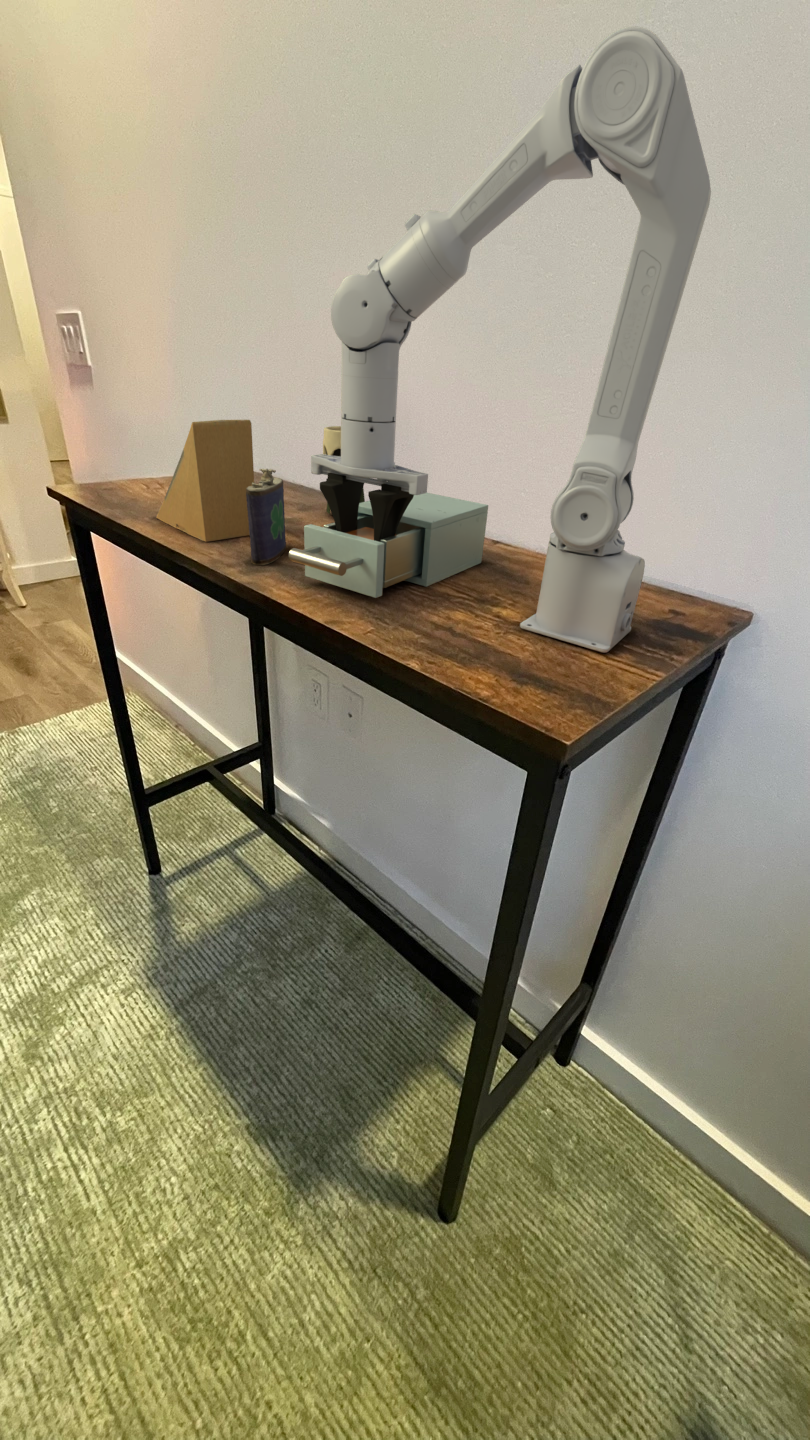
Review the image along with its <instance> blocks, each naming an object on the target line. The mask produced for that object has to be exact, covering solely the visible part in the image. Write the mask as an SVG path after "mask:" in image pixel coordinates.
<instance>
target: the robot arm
mask: <svg viewBox="0 0 810 1440" xmlns="http://www.w3.org/2000/svg"><path fill="white" fill-rule="evenodd" d="M700 139H701V138H700V135H699V131H698V128H697V123H696V119H695V115H694V111H693V107H692V103H691V99H690V94H689V90H688V86H687V83H686V78H685V74H684V71H683V69H682V67H681V66H680V65H679V63H678V62H677V60H676V59H675V58H674V56H673V55H672V54H671V52H670V51H669V49H668V48H667V47H666V45H665V44H664V42H663V41H662V40H661V38H659V36H658V35H657V34H655V33H654V31H652V30H650V29H648V28H646V27H642V26H636V25H635V26H626V27H623V28H620V29H617V30H616V31H614V32H612V33H610V34H608V36H606V37H605V38H603V40H602V41H601V42H599V43H598V45H596V47H595V48H594V49H593V50H592V52H591V53H590V55H589V57H587V59H586V61H585V63H584V65H583V66H582V65H581V64H578V65H576V66H575V67H574V68H573V69H571V70H570V71H569V72H567V73H566V74H565V75H563V76H562V78H561V80H560V81H559V82H558V84H557V85H556V87H555V88H554V89H553V91H551V94H550V95H549V96H548V98H547V99H546V101H545V102H544V103H543V104H542V106H541V107H540V109H539V110H538V111H537V112H536V113H535V115H534V116H533V117H532V118H531V119H530V120H529V121H528V122H527V124H526V125H525V126H524V127H523V128H522V129H521V130H520V131H519V132H518V134H517V135H516V136H515V137H514V138H513V139H512V140H511V141H510V142H509V143H508V144H507V146H506V147H505V148H504V149H503V150H502V151H501V152H500V154H499V155H498V156H497V157H496V158H495V159H494V160H492V162H491V163H490V164H489V165H488V167H487V168H486V169H485V170H484V171H483V172H482V173H481V175H479V177H478V178H476V180H475V181H474V182H473V184H471V185H470V187H469V188H467V190H466V191H465V192H464V193H463V194H462V196H460V198H459V199H458V200H457V201H456V202H455V203H454V204H453V206H452V207H451V208H450V209H449V210H447V211H440V210H439V211H438V210H432V209H429V210H426V211H425V212H424V214H422V216H420V215H419V214H416V213H414V214H412V215H411V216H410V217H409V218H408V220H407V221H406V222H405V223H404V227H405V229H406V232H405V233H404V234H403V235H402V236H401V237H400V238H399V239H398V240H397V241H396V242H395V243H394V244H393V245H392V246H391V247H390V248H389V250H387V251H386V252H385V253H384V254H383V255H382V256H381V258H380V259H378V258H373V259H372V260H371V261H370V262H369V263H368V264H367V270H368V271H367V273H366V274H360V273H354V274H350V275H348V276H346V277H344V278H343V280H342V281H341V284H340V285H339V286H338V287H337V289H336V291H335V293H334V294H333V297H332V301H331V305H330V320H331V324H332V328H333V330H334V333H335V334H336V336H337V337H338V339H339V340H340V341H341V370H340V371H341V373H340V374H341V384H340V385H341V386H340V387H341V389H340V394H341V395H340V402H341V403H340V426H341V457H340V456H332V455H325V454H323V453H321V454H312V455H310V473H311V474H312V475H317V476H318V475H319V476H320V475H324V476H327V478H326V480H324V481H320V482H319V490H320V492H321V493H322V495H323V497H324V499H325V501H326V502H327V503H328V505H329V507H330V513H331V515H332V519H333V521H334V522H335V525H336V529H337V531H339V532H343V533H346V532H350V531H354V530H357V520H358V509H359V503H360V498H361V493H362V490H363V489H364V485H365V484H369V485H372V486H373V485H374V486H376V487H377V486H378V487H380V488H379V489H373V490H370V491H368V493H367V494H368V495H367V496H368V499H369V501H370V503H371V508H372V513H373V521H374V541H378V542H381V540H382V539H385V538H388V537H391V536H395V533H396V530H397V527H398V525H399V522H400V520H401V518H402V516H403V514H404V512H405V510H406V508H407V507H408V505H409V503H410V502H411V500H412V499H413V497H414V495H420V494H424V493H428V485H429V483H428V482H429V473H427V472H423V471H422V472H421V471H418V470H413V469H411V468H408V467H404V466H401V465H398V464H396V462H395V447H396V428H397V408H398V407H397V405H398V387H399V386H398V385H399V363H400V361H399V360H400V350H401V348H402V345H403V344H404V343H405V341H406V340H407V338H408V336H409V334H410V331H411V328H412V322H415V321H416V320H417V319H418V318H419V317H420V316H421V315H422V314H423V313H425V312H426V311H427V310H428V309H429V308H430V307H432V305H433V304H434V303H436V302H437V301H438V300H439V299H440V298H441V297H442V296H443V295H444V294H445V293H447V292H448V291H449V290H450V289H451V288H452V287H453V286H454V285H456V283H457V282H459V281H460V279H462V278H463V277H464V276H465V275H466V274H467V272H468V268H469V262H470V257H471V252H472V250H473V248H474V247H475V246H476V245H477V244H478V243H480V242H481V241H482V240H483V239H484V238H486V237H487V236H488V235H490V233H492V231H494V230H495V229H496V228H497V227H498V226H500V225H501V224H502V223H503V222H504V221H505V220H507V219H508V218H509V217H511V215H513V214H514V213H515V212H516V211H518V210H519V209H520V208H521V207H522V206H523V205H524V204H525V203H527V202H529V200H530V199H531V198H533V197H534V196H535V195H536V194H537V193H539V192H540V191H541V190H542V189H544V188H545V186H547V185H548V184H549V183H551V182H553V181H560V180H561V181H563V180H581V179H583V180H584V179H592V178H594V172H593V171H594V170H593V165H592V161H593V160H596V159H598V161H599V164H600V165H601V167H602V169H604V170H605V172H607V173H608V174H609V175H610V176H612V178H614V179H615V180H616V181H618V182H619V183H620V184H622V185H623V186H624V187H625V188H626V190H627V192H628V194H629V195H630V198H631V199H632V201H633V202H634V204H635V206H636V208H637V210H638V212H639V217H640V218H639V219H640V220H639V223H638V227H637V231H636V236H635V239H634V243H633V247H632V251H631V255H630V258H629V262H628V266H627V271H626V274H625V277H624V281H623V282H624V283H623V286H622V290H621V294H620V297H619V298H620V299H619V302H618V305H617V309H616V314H615V317H614V321H613V325H612V329H611V333H610V337H609V341H608V345H607V347H606V353H605V357H604V361H603V364H602V367H601V372H600V376H599V379H598V380H599V381H598V384H597V388H596V393H595V396H594V399H593V402H592V408H591V410H590V411H591V412H590V415H589V419H588V423H587V426H586V427H587V428H586V430H585V433H584V438H583V441H582V443H581V445H580V447H579V450H578V452H577V454H576V456H575V458H574V462H573V465H572V469H571V473H570V475H569V478H568V480H567V482H566V484H565V486H564V487H563V488H561V490H560V491H559V493H557V495H556V497H555V498H554V499H553V502H552V505H551V508H550V525H551V529H552V531H553V532H551V533H550V534H549V541H548V545H547V549H546V550H547V551H546V556H545V562H544V568H543V572H542V578H541V584H540V591H539V595H538V601H537V606H536V613H534V614H533V615H531V616H529V617H528V618H526V619H525V620H523V621H521V622H520V623H519V628H520V629H522V630H525V631H529V632H532V633H536V634H539V635H543V636H546V637H549V638H552V639H556V640H559V641H563V642H565V643H570V644H573V645H576V646H579V647H584V648H586V649H589V650H592V651H596V652H599V653H604V654H605V653H608V652H609V651H611V650H612V649H613V648H614V647H615V646H616V645H617V644H618V643H619V642H620V641H621V640H622V639H623V638H625V637H626V636H627V635H628V634H629V633H631V631H632V622H633V617H634V614H635V610H636V606H637V602H638V598H639V595H640V591H641V586H642V583H643V578H644V574H645V566H646V562H645V559H644V558H643V557H641V556H638V555H634V554H631V553H629V552H628V551H626V550H625V546H626V541H625V540H624V539H623V536H622V535H621V532H620V530H619V528H620V527H621V524H622V523H624V522H625V520H626V519H627V518H628V516H629V515H630V513H631V511H632V508H633V504H634V501H635V500H634V498H635V497H634V489H633V482H632V478H633V477H632V475H633V472H634V468H635V464H636V461H637V455H638V447H639V442H640V438H641V435H642V432H643V429H644V425H645V421H646V418H647V415H648V411H649V408H650V405H651V402H652V398H653V395H654V392H655V388H656V386H657V382H658V378H659V375H660V372H661V368H662V364H663V361H664V359H665V354H666V352H667V349H668V344H669V342H670V339H671V335H672V332H673V328H674V325H675V321H676V318H677V314H678V312H679V307H680V304H681V302H682V299H683V294H684V291H685V288H686V285H687V281H688V277H689V274H690V271H691V267H692V266H693V265H692V264H693V262H694V258H695V254H696V252H697V248H698V244H699V242H700V238H701V236H702V235H701V234H702V230H703V228H704V224H705V221H706V217H707V214H708V211H709V208H710V204H711V197H712V189H711V181H710V175H709V171H708V166H707V162H706V159H705V156H704V155H705V154H704V151H703V147H702V142H701V140H700ZM327 503H326V504H327ZM334 522H333V523H334Z"/></svg>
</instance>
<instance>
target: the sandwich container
mask: <svg viewBox="0 0 810 1440" xmlns="http://www.w3.org/2000/svg"><path fill="white" fill-rule="evenodd" d="M253 450H254V449H253V427H252V422H251V419H213V420H199V421H192V422H191V424H190V428H189V431H188V435H187V437H186V440H185V444H184V446H183V449H182V452H181V454H180V457H179V460H178V462H177V465H176V467H175V470H174V473H173V475H172V478H171V481H170V483H169V486H168V489H167V490H166V493H165V496H164V498H163V499H162V500H163V501H162V503H161V505H160V508H159V510H158V512H157V515H156V519H158V520H159V521H161V522H163V523H164V524H167V525H169V526H171V527H173V528H175V529H177V530H179V531H182V532H183V533H185V534H187V535H189V536H191V537H194V538H195V539H198V540H200V541H203V542H205V543H207V542H215V541H220V540H226V539H227V540H228V539H235V538H240V537H246V536H250V535H249V521H248V511H247V501H246V499H247V498H246V488H248V486H252V482H253V483H255V471H254V469H255V468H254V451H253Z"/></svg>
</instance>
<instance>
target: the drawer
mask: <svg viewBox="0 0 810 1440" xmlns="http://www.w3.org/2000/svg"><path fill="white" fill-rule="evenodd" d="M364 527H368V528H372V529H374V521H373V516H372V515H368V514H365V515H362V516H358V520H357V529H361V528H364ZM425 529H426V528H423V527H419V526H414V525H410V524H406V523H402V522H399V525H398V527H397V530H396V533H395V534H396V535H395V536H391V537H388V538H385V539H382V540H381V542H378V541H374V540H371V539H367V538H363V537H359V536H355V535H351V534H347V533H343V532H339V531H337V529H336V525H335V522H330V523H327V524H324V525H323V526H319V525H316V524H312V523H310V524H306V525H304V526H303V539H304V540H303V541H304V542H303V545H304V546H303V547H304V548H303V549H299V548H296V547H293V548H291V549H290V550H289V552H288V559H289V561H291V562H294V563H297V564H300V565H303V566H304V577H307V578H310V579H313V580H317V581H320V582H323V583H326V584H329V585H333V586H337V587H339V588H343V589H345V590H350V591H351V592H356V593H358V594H362V595H365V596H368V597H371V598H375V599H376V598H379V597H382V596H383V589H386V588H389V587H391V586H393V585H395V584H398V583H400V582H403V581H405V580H406V579H408V578H411V577H413V576H416V575H418V574H421V573H422V567H423V554H424V541H425Z"/></svg>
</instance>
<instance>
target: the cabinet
mask: <svg viewBox="0 0 810 1440" xmlns="http://www.w3.org/2000/svg"><path fill="white" fill-rule="evenodd" d="M365 514H368V515H372V516H373V513H372V508H371V503H370V500H365V502H361V503H359V509H358V516H362V515H365ZM488 514H489V504H486V503H480V502H475V501H471V500H465V499H461V498H455V497H450V496H445V495H440V494H436V493H431V492H427V493H424V494H420V495H414V497H413V499H412V500H411V502H410V503H409V505H408V507H407V508H406V510H405V512H404V514H403V516H402V518H401V520H400V522H402V523H406V524H410V525H414V526H419V527H423V528H426V529H425V541H424V554H423V567H422V573H421V574H418V575H416V576H413V577H411V578H408V579H406V580H404V581H405V582H409V583H412V584H415V585H418V586H422V587H425V588H427V587H429V586H432V585H434V584H436V583H438V582H441V581H443V580H445V579H448V578H450V577H452V576H455V575H456V574H459V573H461V572H464V571H466V570H468V569H470V568H473V567H475V566H478V565H480V564H481V563H482V560H483V553H484V546H485V537H486V529H487V521H488Z"/></svg>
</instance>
